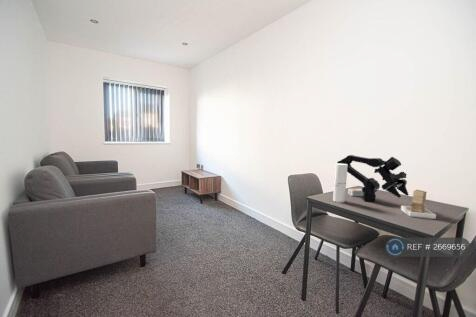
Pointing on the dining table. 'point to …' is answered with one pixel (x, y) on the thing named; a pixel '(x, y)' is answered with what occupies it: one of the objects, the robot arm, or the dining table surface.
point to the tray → (426, 213)
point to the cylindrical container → (340, 182)
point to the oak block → (418, 201)
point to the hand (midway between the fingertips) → (404, 196)
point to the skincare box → (355, 192)
